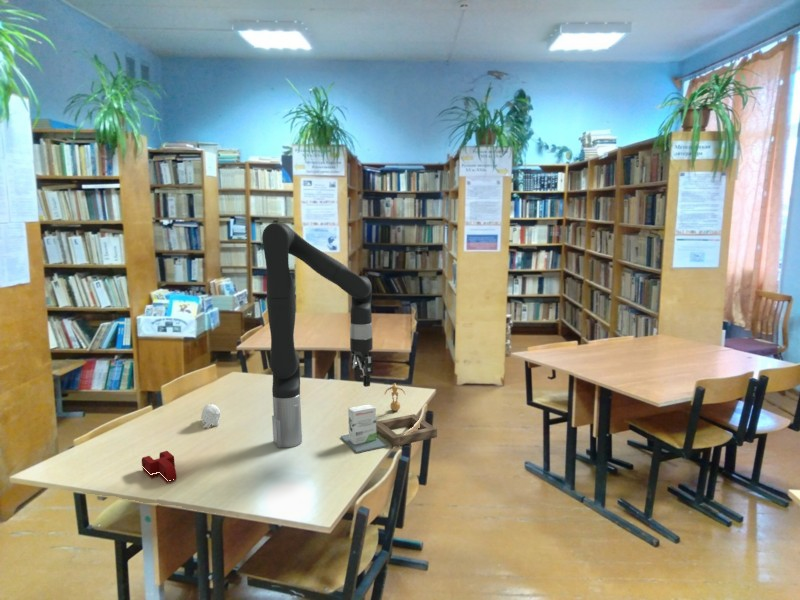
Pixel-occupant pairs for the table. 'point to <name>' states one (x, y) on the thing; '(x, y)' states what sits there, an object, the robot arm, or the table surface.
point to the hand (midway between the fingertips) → (361, 382)
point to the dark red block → (160, 466)
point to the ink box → (362, 424)
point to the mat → (364, 444)
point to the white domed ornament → (210, 415)
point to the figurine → (395, 404)
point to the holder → (395, 439)
